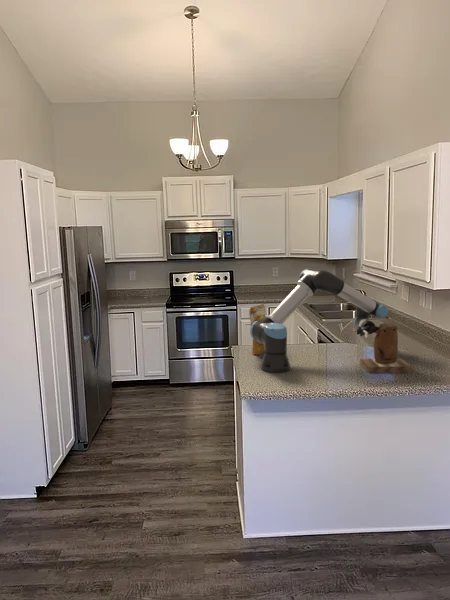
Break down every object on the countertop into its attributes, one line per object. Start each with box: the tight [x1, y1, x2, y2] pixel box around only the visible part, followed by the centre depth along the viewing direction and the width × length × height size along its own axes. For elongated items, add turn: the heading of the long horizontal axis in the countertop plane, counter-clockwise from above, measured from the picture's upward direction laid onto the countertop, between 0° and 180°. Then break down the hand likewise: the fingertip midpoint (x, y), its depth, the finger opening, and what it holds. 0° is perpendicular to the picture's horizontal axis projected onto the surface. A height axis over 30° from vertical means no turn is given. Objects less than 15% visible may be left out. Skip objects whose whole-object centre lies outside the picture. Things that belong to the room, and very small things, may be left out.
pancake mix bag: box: [248, 303, 268, 356], centre depth 280 cm, size 7×19×28 cm, turn 141°
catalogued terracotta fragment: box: [373, 323, 399, 363], centre depth 244 cm, size 11×8×20 cm
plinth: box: [359, 357, 413, 374], centre depth 246 cm, size 22×15×3 cm
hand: (380, 335), depth 253 cm, fingers open, 13 cm apart
